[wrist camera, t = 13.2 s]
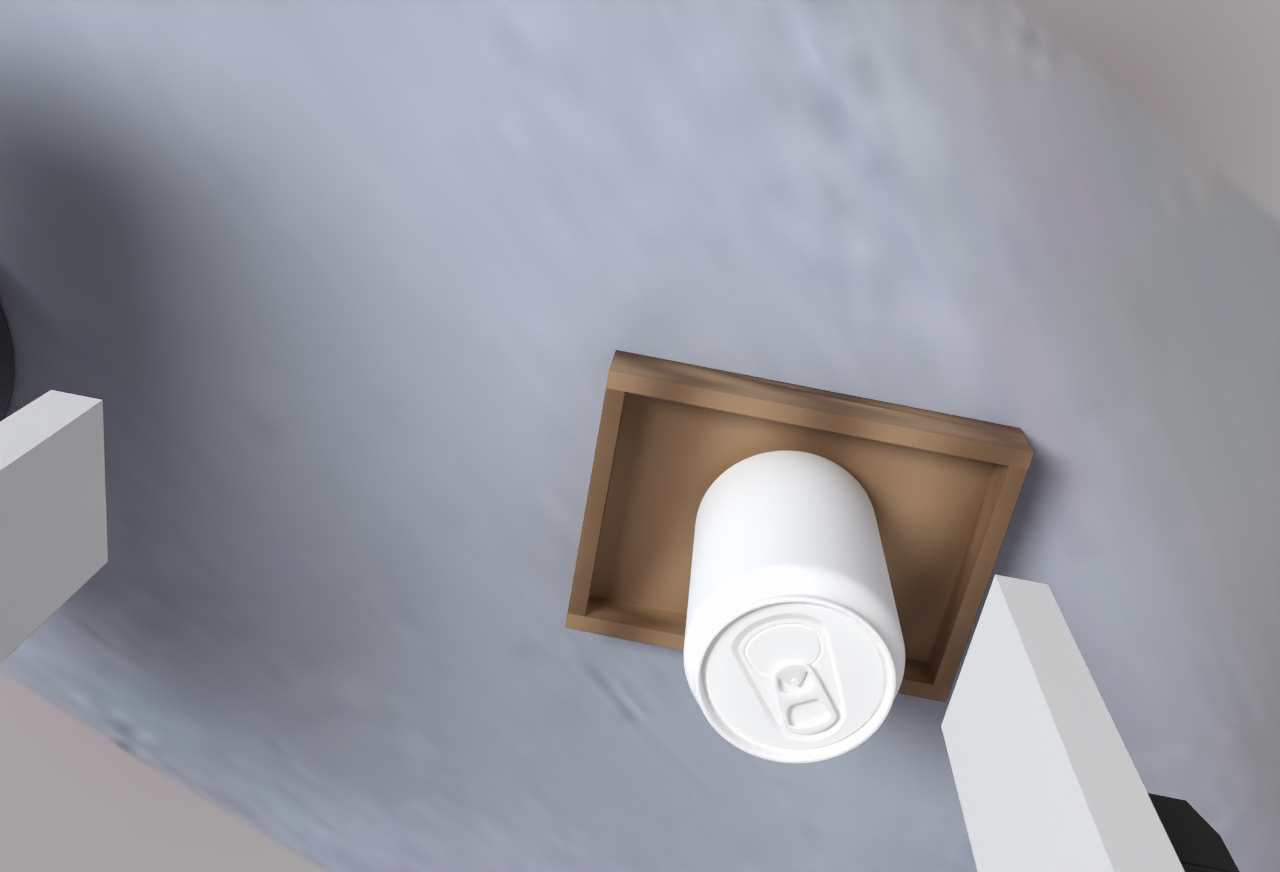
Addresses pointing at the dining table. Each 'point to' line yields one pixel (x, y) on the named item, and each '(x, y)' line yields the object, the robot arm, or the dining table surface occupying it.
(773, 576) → the beverage can
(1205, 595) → the dining table surface
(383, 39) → the dining table surface
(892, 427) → the walnut tray
